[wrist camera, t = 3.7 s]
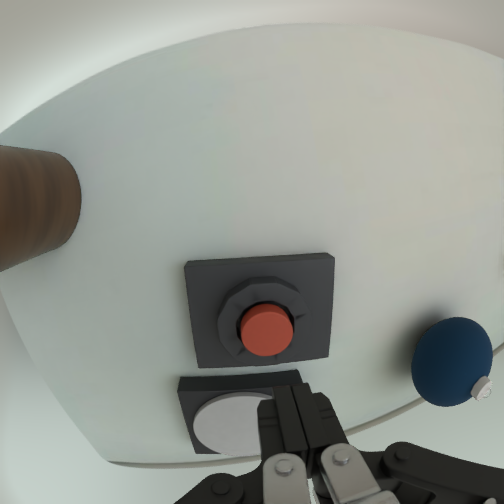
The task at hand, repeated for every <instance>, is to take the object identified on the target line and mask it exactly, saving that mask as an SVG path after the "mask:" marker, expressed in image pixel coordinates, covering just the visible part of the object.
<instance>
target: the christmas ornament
mask: <svg viewBox="0 0 504 504" xmlns="http://www.w3.org/2000/svg"><path fill="white" fill-rule="evenodd" d="M492 358H493V352H492V345H491V342H490V339H489V337H488V335H487V333H486V331H485V330H484V329H483V328H482V327H481V326H480V325H479V324H478V323H476V322H475V321H473V320H471V319H468V318H463V317H453V318H448V319H445V320H443V321H440V322H438V323H437V324H435V325H434V326H432V327H431V328H430V329H429V330H428V331H427V332H426V333H425V334H424V335H423V336H422V338H421V339H420V341H419V342H418V344H417V346H416V349H415V351H414V354H413V358H412V364H411V373H412V379H413V383H414V386H415V388H416V390H417V391H418V393H419V394H420V395H421V396H422V397H423V398H424V399H425V400H426V401H428V402H429V403H431V404H434V405H437V406H442V407H449V406H455V405H458V404H461V403H463V402H465V401H467V400H468V399H470V398H471V397H474V398H475V399H476V400H477V401H479V400H481V399H482V398H483V397H484V396H485V395H486V394H487V393H488V392H489V390H490V388H491V386H492V381H491V380H490V379H488V378H487V377H488V375H489V373H490V369H491V366H492Z"/></svg>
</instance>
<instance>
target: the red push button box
mask: <svg viewBox="0 0 504 504" xmlns="http://www.w3.org/2000/svg"><path fill="white" fill-rule="evenodd" d="M334 266H335V258H334V257H333V256H331V255H330V254H328V253H314V254H298V255H281V256H265V257H248V258H231V259H214V260H196V261H188V262H187V263H186V265H185V267H184V270H185V279H186V288H187V296H188V304H189V311H190V318H191V325H192V332H193V339H194V345H195V351H196V357H197V363H198V368H225V367H243V366H266V365H276V364H280V363H288V362H297V361H305V360H312V359H319V358H326V357H328V355H329V345H330V334H331V321H332V307H333V290H334ZM260 304H273V305H276V306H278V307H280V308H281V309H283V310H284V311H285V312H286V314H287V316H288V318H289V320H290V322H291V325H292V328H293V336H292V339H291V342H290V343H289V345H288V346H287V347H286V348H285V349H284V350H283V351H281V352H280V353H278V354H275V355H272V356H259V355H256V354H253V353H252V352H250V351H249V350H248V349H247V348H246V347H245V346H244V344H243V342H242V338H241V321H242V318H243V316H244V315H245V314H246V312H247V311H248V310H250V309H251V308H253V307H255V306H257V305H260Z"/></svg>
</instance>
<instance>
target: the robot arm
mask: <svg viewBox="0 0 504 504" xmlns="http://www.w3.org/2000/svg"><path fill="white" fill-rule="evenodd" d="M257 422H258V435H259V443H260V452H261V460H262V461H261V463H260V465H259V466H258V467H257V468H256V469H255V470H253V471H252V472H249V473H247V474H244V475H241V476H238V477H235V476H233V475H230V474H226V473H216V474H212V475H209V476H208V477H206V478H205V479H203V480H202V481H201V482H200V483H199V484H198V485H196V486H195V487H194V488H193V489H192V490H190V491H189V492H188V493H187V494H185V495H184V496H183V497H182V498H180V499H179V500H178V501H177V502H175V503H174V504H311V500H310V493H309V487H308V480H307V479H310V478H312V481H313V485H314V487H313V496H314V498H315V501H316V504H504V469H500V468H496V467H491V466H486V465H481V464H478V463H474V462H470V461H466V460H462V459H458V458H455V457H451V456H448V455H444V454H441V453H438V452H434V451H432V450H429V449H425V448H422V447H420V446H417V445H414V444H411V443H408V442H396V443H393V444H391V445H390V446H388V447H387V448H386V450H385V451H379V452H365V451H360V450H358V449H357V448H355V447H354V446H352V445H350V444H349V442H348V440H347V438H346V436H345V434H344V431H343V429H342V427H341V425H340V422H339V420H338V418H337V416H336V413H335V411H334V409H333V407H332V404H331V402H330V400H329V398H327V397H326V396H325V395H324V394H323V393H321V392H319V393H313V394H312V392H311V389H310V386H309V384H308V383H301V384H294V385H286V386H277V387H272V399H265V400H261V401H260V403H259V405H258V407H257Z"/></svg>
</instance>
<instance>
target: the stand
mask: <svg viewBox="0 0 504 504" xmlns="http://www.w3.org/2000/svg"><path fill="white" fill-rule="evenodd" d="M80 209H81V189H80V184H79V180H78V177H77V174H76V172H75V170H74V168H73V166H72V165H71V164H70V162H69V161H68V160H67V159H66V158H65V157H63V156H61V155H60V154H57V153H53V152H46V151H40V150H33V149H26V148H18V147H11V146H2V145H0V272H2V271H4V270H6V269H9V268H11V267H13V266H15V265H18V264H20V263H22V262H24V261H27V260H29V259H32V258H34V257H36V256H39V255H41V254H44V253H46V252H49V251H51V250H54V249H56V248H58V247H60V246H62V245H63V244H64V243H65V242H66V241H67V240H68V239H69V238H70V236H71V235H72V233H73V231H74V229H75V227H76V225H77V222H78V219H79V215H80Z"/></svg>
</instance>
